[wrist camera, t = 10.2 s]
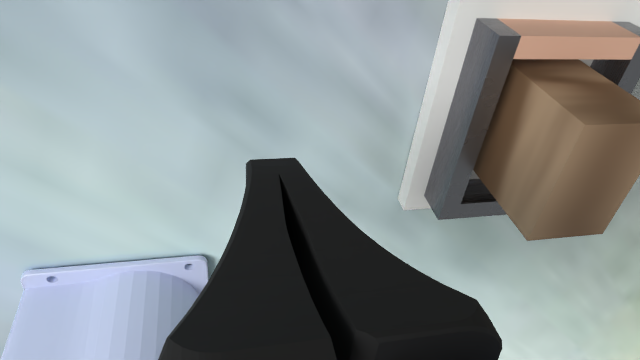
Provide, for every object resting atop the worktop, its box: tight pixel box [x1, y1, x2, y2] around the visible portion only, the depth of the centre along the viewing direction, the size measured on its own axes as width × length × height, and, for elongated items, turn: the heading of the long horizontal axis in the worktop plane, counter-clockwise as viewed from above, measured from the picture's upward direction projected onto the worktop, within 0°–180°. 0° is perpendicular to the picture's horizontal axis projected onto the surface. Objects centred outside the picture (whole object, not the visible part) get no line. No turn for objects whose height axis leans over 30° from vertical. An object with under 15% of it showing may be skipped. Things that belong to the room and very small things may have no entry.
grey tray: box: [398, 0, 640, 220], centre depth 24 cm, size 10×12×3 cm
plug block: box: [473, 59, 640, 241], centre depth 22 cm, size 4×6×6 cm, turn 174°
